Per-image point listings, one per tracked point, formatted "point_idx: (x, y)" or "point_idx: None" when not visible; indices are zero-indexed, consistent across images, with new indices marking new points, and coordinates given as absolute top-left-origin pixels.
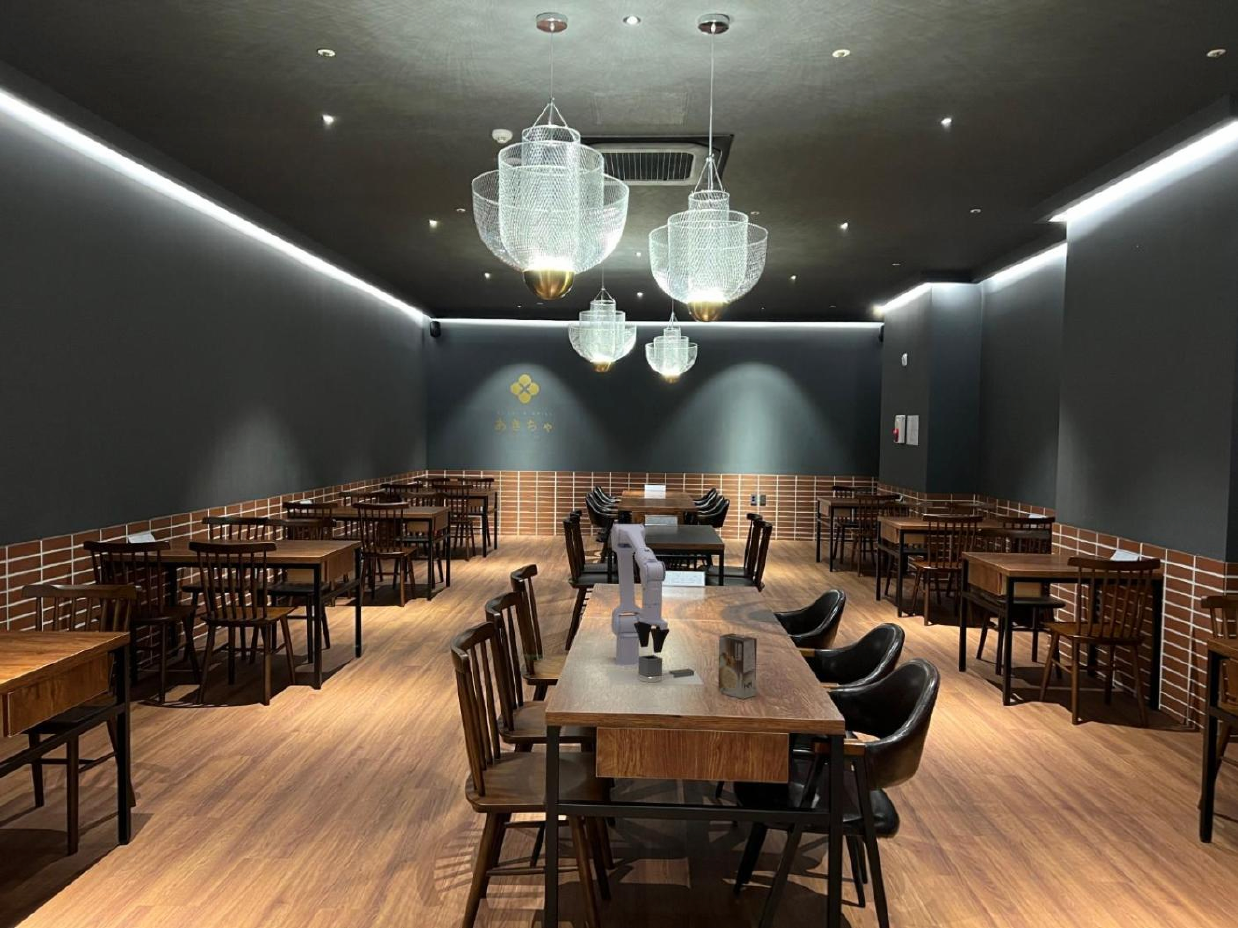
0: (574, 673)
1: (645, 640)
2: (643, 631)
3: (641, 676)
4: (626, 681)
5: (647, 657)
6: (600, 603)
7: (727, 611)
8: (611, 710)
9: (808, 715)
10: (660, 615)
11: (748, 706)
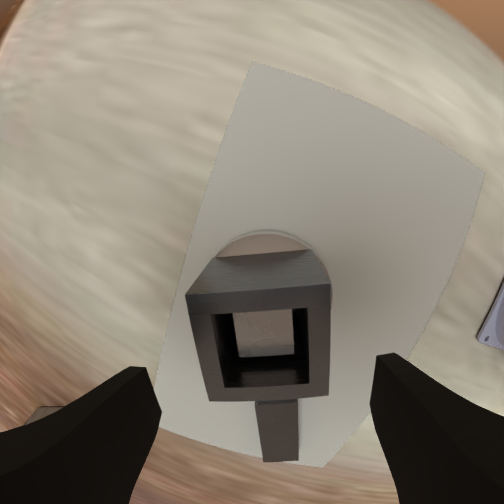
0: (474, 43)
1: (390, 428)
2: (434, 490)
3: (245, 236)
4: (272, 155)
5: (307, 342)
6: None
7: None
8: (12, 39)
9: None
10: None
11: (2, 378)
